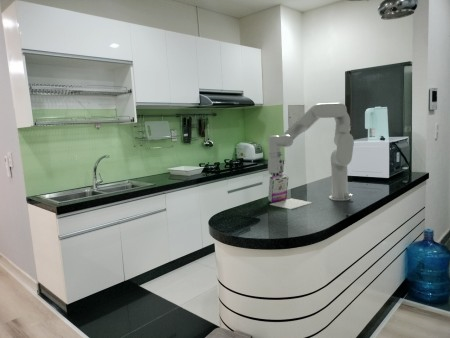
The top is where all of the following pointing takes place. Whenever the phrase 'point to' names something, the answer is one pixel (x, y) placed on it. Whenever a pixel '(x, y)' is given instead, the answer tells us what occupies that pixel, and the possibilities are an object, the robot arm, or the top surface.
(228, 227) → the top surface
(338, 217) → the top surface
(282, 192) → the candy bar box
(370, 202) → the top surface
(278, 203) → the mat
